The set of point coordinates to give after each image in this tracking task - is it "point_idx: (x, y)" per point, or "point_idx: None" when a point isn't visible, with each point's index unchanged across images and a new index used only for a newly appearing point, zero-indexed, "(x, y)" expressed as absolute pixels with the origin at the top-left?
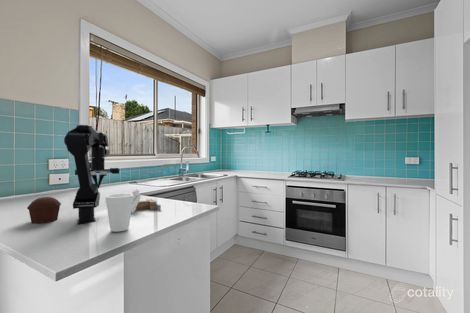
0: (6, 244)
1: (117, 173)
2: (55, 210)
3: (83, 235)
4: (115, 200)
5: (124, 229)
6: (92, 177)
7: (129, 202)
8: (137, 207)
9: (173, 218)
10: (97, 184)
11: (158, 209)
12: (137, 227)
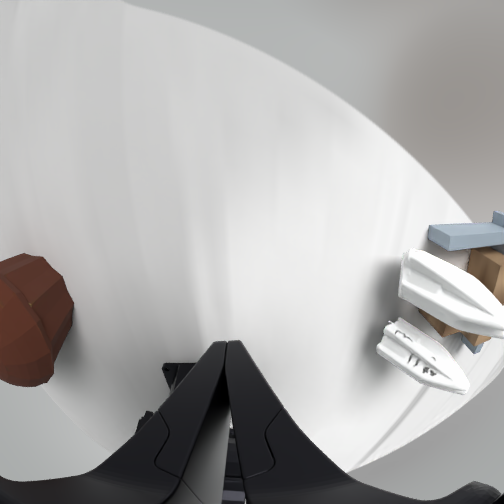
0: (94, 441)
1: (501, 495)
2: (55, 349)
3: None
4: None
5: None
6: (86, 482)
7: None
8: (430, 320)
9: (429, 417)
10: (225, 428)
11: (465, 343)
12: (334, 458)
